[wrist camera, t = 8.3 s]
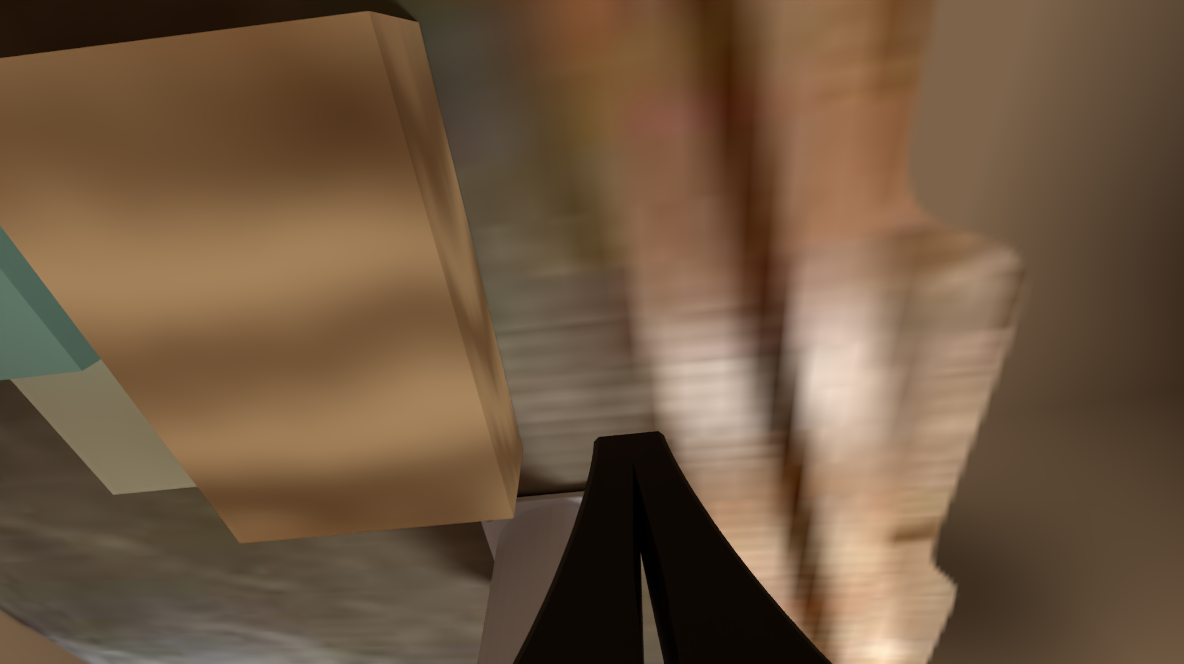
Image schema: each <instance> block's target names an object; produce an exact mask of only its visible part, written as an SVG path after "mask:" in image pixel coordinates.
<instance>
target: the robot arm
mask: <svg viewBox="0 0 1184 664" xmlns="http://www.w3.org/2000/svg"><path fill="white" fill-rule="evenodd" d="M481 523H482V526H483V529H484V532H485V535H486V538H487V541H488V544H489V547H490V550H491V553H492V556H493V559H494V568H493V574H492V580H491V586H490V592H489V598H488V604H487V610H486V616H485V622H484V628H483V633H482V639H481V645H480V651H479V657H478V663H477V664H644V645H643V614H642V583H641V556H642V561H643V566H644V571H645V575H646V580H647V585H648V590H649V594H650V599H651V604H652V608H653V613H654V618H655V623H656V627H657V632H658V637H659V641H660V646H661V651H662V655H663V660H664V664H832V663H831V662H830V661H829V660H828V659H827V658H826V657H825V656H824V655H823V654H822V653H821V652H820V651H819V650H818V649H817V647H816V646H815V645H814V644H813V643H812V642H811V641H810V640H809V639H808V638H807V636H806V635H805V634H804V633H803V632H802V631H801V630H800V629H799V628H798V626H797V625H796V624H795V623H794V622H793V621H792V620H791V619H790V618H789V616H788V615H787V614H786V613H785V612H784V611H783V610H782V608H781V607H780V606H779V605H778V604H777V603H776V601H775V600H774V599H773V598H772V597H771V595H770V594H769V593H768V592H767V591H766V590H765V588H764V587H763V586H762V585H761V584H760V582H759V581H758V580H757V579H756V577H755V576H754V575H753V574H752V572H751V571H750V570H749V569H748V567H747V566H746V565H745V563H744V562H743V561H742V560H741V558H740V557H739V556H738V554H737V553H736V552H735V550H734V549H733V548H732V546H731V545H730V544H729V542H728V541H727V540H726V538H725V537H724V535H723V534H722V533H721V531H720V530H719V528H718V527H717V526H716V524H715V523H714V521H713V520H712V518H711V517H710V515H709V514H708V512H707V511H706V509H705V508H704V506H703V505H702V503H701V502H700V500H699V499H698V497H697V496H696V494H695V493H694V491H693V490H692V488H691V486H690V485H689V483H688V481H687V480H686V478H685V476H684V474H683V473H682V471H681V469H680V468H679V466H678V464H677V462H676V460H675V458H674V456H673V454H672V453H671V450H670V448H669V446H668V444H667V442H666V439H665V437H664V435H663V434H662V433H660V432H659V431H656V432H645V433H635V434H625V435H614V436H604V437H598V438H597V439H596V440H595V441H594V448H593V456H592V462H591V467H590V472H589V476H588V480H587V484H586V487H585V491H580V492H569V493H559V494H548V495H537V496H527V497H517V498H516V505H515V512H514V518H511V519H500V520H490V521H481ZM640 552H641V553H640Z"/></svg>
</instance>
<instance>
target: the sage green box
mask: <svg viewBox="0 0 1184 664" xmlns="http://www.w3.org/2000/svg"><path fill="white" fill-rule="evenodd" d="M99 360H101V358H100V357H99V356H98V354H97V353H96V352H95V350H94V349H93V348H92V346H91V345H90V344H89V343H88V341H87V340H86V339H85V337H84V336H83V335H82V333H81V332H80V331H79V329H78V328H77V327H76V325H75V324H74V323H73V321H72V320H71V319H70V317H69V316H68V315H67V313H66V312H65V311H64V309H63V308H62V307H61V305H60V304H59V303H58V301H57V300H56V299H55V297H54V296H53V295H52V293H51V292H50V291H49V289H48V288H47V287H46V285H45V284H44V283H43V281H42V280H41V279H40V277H39V276H38V275H37V274H36V272H35V271H34V270H33V268H32V267H31V266H30V264H29V263H28V262H27V260H26V259H25V258H24V256H23V255H22V254H21V252H20V251H19V250H18V248H17V247H16V246H15V244H14V243H13V242H12V240H11V239H10V238H9V236H8V235H7V234H6V232H5V231H4V230H3V228H2V227H1V226H0V380H8V379H16V378H25V377H34V376H43V375H52V374H60V373H69V372H78V371H83V370H85V369H86V368H88V367H89V366H91V365H93V364H94V363H96V362H97V361H99Z"/></svg>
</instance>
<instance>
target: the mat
mask: <svg viewBox="0 0 1184 664" xmlns="http://www.w3.org/2000/svg"><path fill="white" fill-rule="evenodd" d="M10 380H11V381H12V382H13V383H14V384H15V385H16V386H17V387H18V389H19V390H20V391H21V392H22V393H23V394H24V395H25V396H26V398H27V399H28V400H29V401H30V402H31V403H32V404H33V405H34V406H35V408H36V409H37V410H38V411H39V412H40V413H41V414H42V415H43V417H44V418H45V419H46V420H47V421H48V422H49V423H50V424H51V426H52V427H53V428H54V429H55V430H56V431H57V432H58V433H59V434H60V436H61V437H62V438H63V439H64V440H65V441H66V442H67V443H68V445H69V446H70V447H71V448H72V449H73V450H74V451H75V452H76V454H77V455H78V456H79V457H80V458H81V459H82V460H83V461H84V463H85V464H86V465H87V466H88V467H89V468H90V469H91V470H92V471H93V473H94V474H95V475H96V476H97V477H98V478H99V479H100V480H101V482H102V483H103V484H104V485H105V486H106V487H107V488H108V489H109V491H110V492H111V493H112V494H113V495H115V494H125V493H136V492H146V491H156V490H167V489H177V488H187V487H197V486H196V484H195V483H194V482H193V480H192V479H191V478H190V477H189V475H188V474H187V473H186V471H185V470H184V469H183V467H182V466H181V465H180V463H179V462H178V461H177V459H176V458H175V457H174V455H173V454H172V453H171V451H170V450H169V449H168V447H167V446H166V445H165V443H164V442H163V441H162V439H161V438H160V437H159V435H158V434H157V433H156V431H155V430H154V429H153V427H152V426H151V425H150V423H149V422H148V421H147V419H146V418H145V417H144V415H143V414H142V413H141V412H140V410H139V409H138V408H137V406H136V405H135V404H134V402H133V401H132V400H131V398H130V397H129V396H128V394H127V393H126V392H125V390H124V389H123V388H122V386H121V385H120V384H119V382H118V381H117V380H116V378H115V377H114V376H113V374H112V373H111V372H110V370H109V369H108V368H107V366H106V365H105V364H104V362H103V361H102V360H99V361H97V362H96V363H94V364H93V365H91V366H89V367H88V368H86V369H85V370H83V371H78V372H69V373H60V374H52V375H43V376H34V377H25V378H16V379H10Z"/></svg>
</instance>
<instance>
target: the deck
mask: <svg viewBox="0 0 1184 664" xmlns="http://www.w3.org/2000/svg"><path fill="white" fill-rule="evenodd" d="M0 226H1V227H2V228H3V230H4V231H5V232H6V234H7V235H8V236H9V238H10V239H11V240H12V242H13V243H14V244H15V246H16V247H17V248H18V250H19V251H20V252H21V254H22V255H23V256H24V258H25V259H26V260H27V262H28V263H29V264H30V266H31V267H32V268H33V270H34V271H35V272H36V274H37V275H38V276H39V277H40V279H41V280H42V281H43V283H44V284H45V285H46V287H47V288H48V289H49V291H50V292H51V293H52V295H53V296H54V297H55V299H56V300H57V301H58V303H59V304H60V305H61V307H62V308H63V309H64V311H65V312H66V313H67V315H68V316H69V317H70V319H71V320H72V321H73V323H74V324H75V325H76V327H77V328H78V329H79V331H80V332H81V333H82V335H83V336H84V337H85V339H86V340H87V341H88V343H89V344H90V345H91V346H92V348H93V349H94V350H95V352H96V353H97V354H98V356H99V357H100V358H101V360H102V361H103V362H104V364H105V365H106V366H107V368H108V369H109V370H110V372H111V373H112V374H113V376H114V377H115V378H116V380H117V381H118V382H119V384H120V385H121V386H122V388H123V389H124V390H125V392H126V393H127V394H128V396H129V397H130V398H131V400H132V401H133V402H134V404H135V405H136V406H137V408H138V409H139V410H140V412H141V413H142V414H143V415H144V417H145V418H146V419H147V421H148V422H149V423H150V425H151V426H152V427H153V429H154V430H155V431H156V433H157V434H158V435H159V437H160V438H161V439H162V441H163V442H164V443H165V445H166V446H167V447H168V449H169V450H170V451H171V453H172V454H173V455H174V457H175V458H176V459H177V461H178V462H179V463H180V465H181V466H182V467H183V469H184V470H185V471H186V473H187V474H188V475H189V477H190V478H191V479H192V480H193V482H194V483H195V484H196V486H197V487H198V488H199V490H200V491H201V492H202V494H203V495H204V496H205V498H206V499H207V500H208V502H209V503H210V504H211V506H212V507H213V508H214V510H215V511H216V512H217V514H218V515H219V516H220V518H221V519H222V520H223V522H224V523H225V524H226V526H227V527H228V528H229V530H230V531H231V532H232V534H233V535H234V536H235V538H236V539H237V540H238V542H239V543H251V542H262V541H273V540H284V539H295V538H305V537H316V536H327V535H338V534H349V533H360V532H370V531H381V530H392V529H403V528H414V527H425V526H435V525H446V524H457V523H468V522H479V521H490V520H500V519H511V518H514V512H515V505H516V498H517V491H518V484H519V477H520V470H521V462H522V455H523V448H522V444H521V440H520V436H519V432H518V428H517V423H516V419H515V415H514V411H513V407H512V403H511V399H510V395H509V391H508V387H507V382H506V378H505V374H504V370H503V366H502V362H501V358H500V354H499V350H498V346H497V341H496V337H495V333H494V329H493V325H492V321H491V317H490V313H489V309H488V304H487V300H486V296H485V292H484V288H483V284H482V280H481V276H480V272H479V268H478V263H477V259H476V255H475V251H474V247H473V243H472V239H471V235H470V231H469V227H468V222H467V218H466V214H465V210H464V206H463V202H462V198H461V194H460V190H459V186H458V181H457V177H456V173H455V169H454V165H453V161H452V157H451V153H450V149H449V144H448V140H447V136H446V132H445V128H444V124H443V120H442V116H441V112H440V108H439V103H438V99H437V95H436V91H435V87H434V83H433V79H432V75H431V71H430V67H429V62H428V58H427V54H426V50H425V46H424V42H423V38H422V34H421V30H420V25H419V22H415V21H411V20H406V19H402V18H398V17H393V16H389V15H384V14H380V13H376V12H371V11H365V12H357V13H349V14H341V15H333V16H326V17H318V18H310V19H302V20H294V21H287V22H279V23H271V24H263V25H255V26H248V27H240V28H232V29H224V30H216V31H209V32H201V33H193V34H185V35H177V36H170V37H162V38H154V39H146V40H138V41H131V42H123V43H115V44H107V45H99V46H92V47H84V48H76V49H68V50H60V51H53V52H45V53H37V54H29V55H21V56H14V57H6V58H0Z"/></svg>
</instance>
